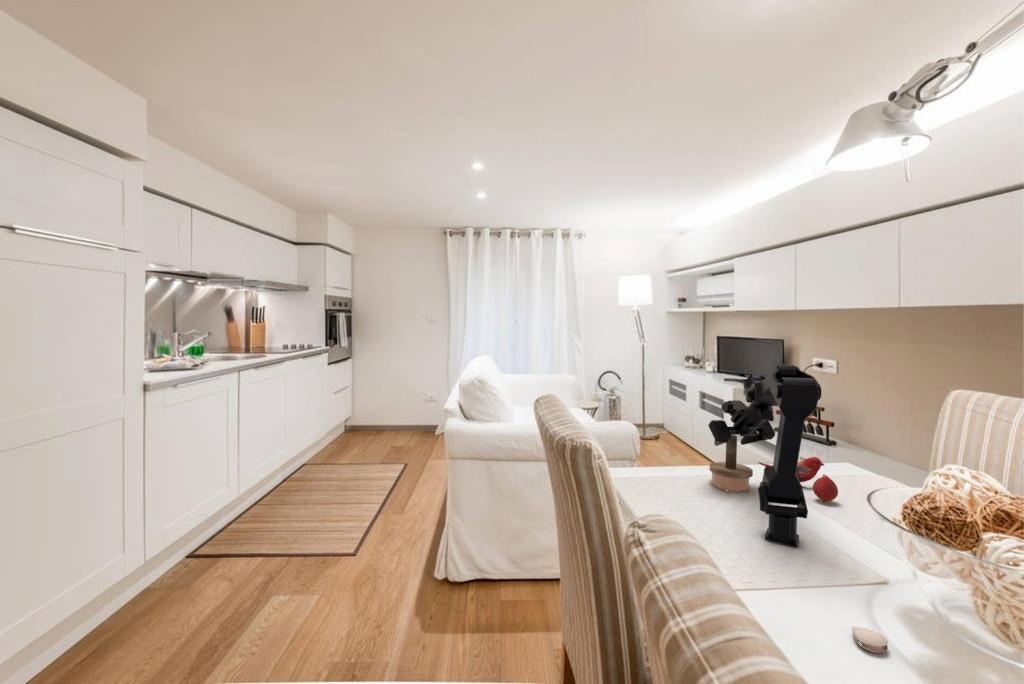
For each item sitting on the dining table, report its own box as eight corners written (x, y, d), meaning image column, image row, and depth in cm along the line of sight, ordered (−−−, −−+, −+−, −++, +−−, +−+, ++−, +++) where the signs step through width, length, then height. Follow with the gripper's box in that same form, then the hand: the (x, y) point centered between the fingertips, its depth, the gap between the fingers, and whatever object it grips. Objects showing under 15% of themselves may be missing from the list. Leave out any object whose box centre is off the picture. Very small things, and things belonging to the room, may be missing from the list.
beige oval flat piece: (870, 658, 68) (871, 642, 68) (840, 636, 73) (841, 620, 73) (894, 655, 69) (895, 639, 69) (863, 632, 74) (863, 617, 74)
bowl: (745, 494, 132) (746, 479, 132) (709, 487, 138) (709, 472, 138) (750, 484, 140) (751, 470, 140) (715, 478, 146) (716, 464, 146)
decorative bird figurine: (824, 492, 134) (826, 459, 134) (757, 483, 142) (758, 451, 141) (823, 489, 137) (824, 456, 136) (756, 480, 144) (757, 449, 144)
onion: (829, 498, 129) (830, 471, 129) (842, 507, 124) (843, 478, 123) (808, 498, 130) (809, 470, 130) (819, 506, 124) (821, 477, 124)
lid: (749, 481, 130) (750, 443, 130) (705, 473, 137) (706, 436, 137) (755, 470, 140) (756, 434, 140) (713, 463, 147) (714, 429, 146)
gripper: (769, 392, 135) (743, 420, 147) (712, 393, 132) (690, 422, 144) (788, 424, 128) (760, 451, 139) (729, 426, 125) (704, 454, 136)
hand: (728, 444), depth 140 cm, fingers open, 9 cm apart
